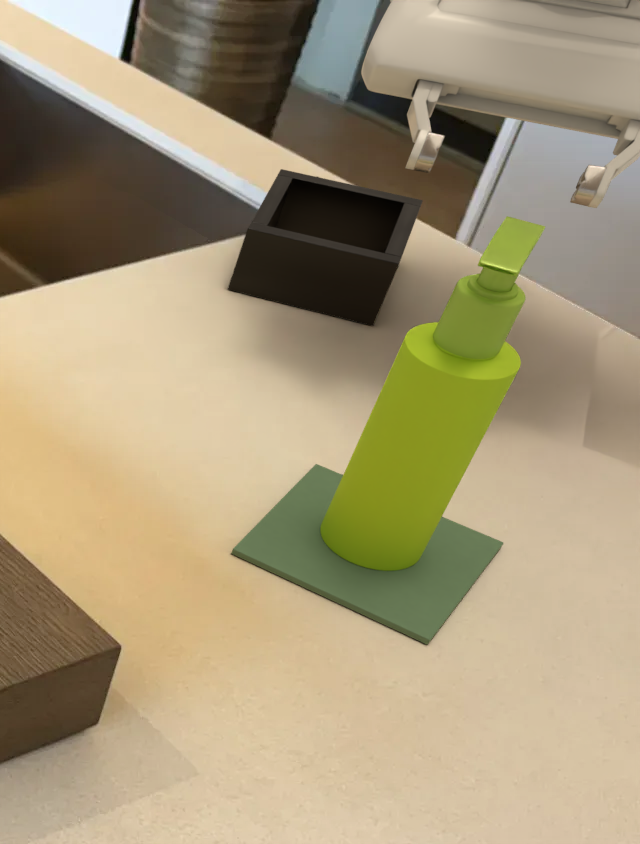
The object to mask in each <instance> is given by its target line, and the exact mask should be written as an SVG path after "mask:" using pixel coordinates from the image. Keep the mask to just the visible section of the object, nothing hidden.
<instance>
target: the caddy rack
mask: <svg viewBox="0 0 640 844" xmlns="http://www.w3.org/2000/svg"><path fill="white" fill-rule="evenodd" d="M423 201H424V200H423V199H419V198H414V197H409V196H406V195H400V194H396V193H392V192H388V191H384V190H383V191H382V190H378V189H373V188H370V187H369V188H368V187H364V186H360V185H355V184H351V183H346V182H342V181H337V180H332V179H328V178H325V177H319V176H314V175H310V174H306V173H302V172H301V173H300V172H296V171H291V170H287V169H283V168H281V169H280V170H279V171H278V173H277V175H276V177H275V179H274V180H273V183H272V184H271V186H270V188H269V190H268V192H267V193H266V194H265V197H264V199H263V201H262V202H261V204H260V206H259V208H258V209H257V211H256V213H255V214H254V217H253V219H252V220H251V222H250V223H249V225H248V227H247V230H246V232H245V234H244V238H243V241H242V244H241V247H240V250H239V254H238V256H237V259H236V262H235V266H234V269H233V272H232V274H231V277H230V280H229V282H228V283H229V284H228V287H227V290H228V291H232V292H235V293H239V294H240V293H241V294H244V295H247V296H252V297H256V298H259V299H263V300H268V301H272V302H276V303H279V304H283V305H287V306H291V307H295V308H300V309H303V310H307V311H310V312H311V311H312V312H315V313H319V314H323V315H328V316H330V317H331V316H332V317H335V318H339V319H343V320H347V321H351V322H355V323H359V324H363V325H366V326H371V327H373V326H374V325H375V323H376V320H377V317H378V316H379V313H380V311H381V308H382V305H383V303H384V301H385V299H386V296H387V294H388V291H389V290H390V287H391V284H392V283H393V280H394V277H395V275H396V273H397V271H398V268H399V266H400V263H401V260H402V258H403V255H404V252H405V250H406V247H407V245H408V241H409V239H410V236H411V234H412V231H413V228H414V225H415V224H416V220H417V217H418V215H419V212H420V210H421V207H422V204H423Z"/></svg>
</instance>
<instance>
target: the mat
mask: <svg viewBox="0 0 640 844" xmlns="http://www.w3.org/2000/svg"><path fill="white" fill-rule="evenodd" d="M343 475H344V474H342V473H339V472H338V471H337V472H336V471H334V470H332V469H329V468H327V467H325V466H323V465H320V464H318V463H315V464H314V465H313V466H312V468H310V469H309V470H308V471H307V472H306V473H305V474H304V475H303V476H302V477H301V479H299V481H298V482H296V483H295V485H294V486H293V487H292V488H290V490H289V491H288V492H287V493H286V494H285V495H284V496H283V497H282V498H281V499H280V500H279V501H278V502H277V503H276V504H275V505H274V506H273V507H272V508H271V509H270V510H269V511H268V512H267V513H266V514H265V515H264V516H263V517H262V518H261V519H260V520H259V522H257V523H256V524H255V525H254V527H253V528H252V529H251V530H250V531H248V533H247V534H246V535H245V536H244V537H243V538H241V540H239V542H238V543H237V544H235V546H234V547H233V548H232V549H231V555H233V556H235V557H238V558H239V559H242V560H244V561H245V562H248V563H251V564H252V565H254V566H257V567H259V568H261V569H263V570H265V571H267V572H270V573H272V574H274V575H276V576H278V577H281V578H283V579H284V580H287V581H289V582H291V583H293V584H296V585H298V586H299V587H302V588H304V589H306V590H309V592H310V591H311V592H313V593H315V594H317V595H319V596H321V597H324V598H325V599H328V600H329V601H332V602H334V603H336V604H338V605H340V606H342V607H345V608H347V609H349V610H352V611H353V612H356V613H358V614H360V615H362V616H364V617H366V618H369V619H370V620H373V621H375V622H377V623H379V624H382V625H384V626H386V627H388V628H390V629H392V630H394V631H396V632H398V633H400V634H404V635H405V636H407V637H409V638H412V639H414V640H416V641H418V642H420V643H422V644H424V645H429V644H430V642H432V640H433V638H434V637H435V636H436V634H437V633H438V632H439V630H440V629H441V628H442V627H443V625H444V624H445V623H446V621H448V619H449V617H450V616H452V613H453V612H454V611H455V609H456V608H457V606H458V605H459V604H460V603H461V602H462V600H463V599H464V597H465V596H466V595H467V593H468V592H469V590H471V588H472V587H473V586H474V584H476V582H477V580H478V579H479V578H480V576H481V575H482V573H483V572H484V571H485V570H486V568H487V567H488V566H489V564H490V563H491V562H492V560H493V559H494V558H495V556H496V555H497V553H498V552H499V551H500V550H501V548H502V547H503V545H504V541H501V540H499V539H498V538H497V539H496V538H494V537H492V536H489V535H488V534H485V533H482V532H480V531H478V530H475V529H473V528H470V527H468V526H465V525H463V524H462V523H461V524H460V523H458V522H456V521H453V520H451V519H449V518H446V517H444V516H442V517H441V519H440V521H439V523H438V525H437V527H436V529H435V531H434V532H433V534H432V536H431V538H430V540H429V542H428V544H427V546H426V548H425V550H424V551H423V553H422V555H421V557H420V559H419V560H418V561H417V562H416V563H415V564H414V565H412V566H410V567H408V568H405V569H401V570H394V571H383V570H375V569H370V568H365V567H362V566H359V565H356V564H354V563H351V562H349V561H347V560H345V559H343V558H342V557H340V556H339V555H337V554H336V553H335V552H333V551H332V550H331V549H330V548H329V547H328V546H327V545H326V543H325V542H324V540H323V538H322V536H321V532H320V528H321V524H322V522H323V519H324V517H325V515H326V513H327V510H328V508H329V506H330V504H331V501H332V499H333V497H334V495H335V492H336V490H337V488H338V486H339V484H340V481H341V479H342V477H343Z"/></svg>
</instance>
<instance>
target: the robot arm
mask: <svg viewBox="0 0 640 844" xmlns="http://www.w3.org/2000/svg"><path fill="white" fill-rule="evenodd" d="M389 2H390V3H389V5H388V6H387V9H386V10H385V12H384V14H383V16H382V18H381V20H380V22H379V24H378V26H377V27H376V30H375V32H374V34H373V36H372V39H371V40H370V43H369V45H368V48H367V50H366V54H365V57H364V60H363V62H362V66H361V71H360V74H361V77H362V80H363V82H364V85H365V87H366V89H367V90H368V91H370V92H373V93H376V94H381V95H382V94H383V95H387V96H388V95H389V96H394V97H399V98H403V99H408V100H411V101H410V105H409V108H408V111H407V113H406V119H407V122H408V127H409V132H410V135H411V140H412V144H413V143H414V145H413V147H412V149H411V152H410V155H409V156H408V160H407V162H406V164H405V169H406V170H412V171H416V172H421V173H426V174H430V173H431V170H432V169H433V166H434V164H435V162H436V159H437V157H438V154H439V151H440V149H441V148H442V147H441V146H442V144H443V142H444V140H445V137H446V135H444V134H439V133H435V132H432V127H431V121H430V118H431V117H432V115H433V114H434V113H433V112H434V110H435V109H436V105H438V106H439V105H440V106H445V107H450V108H455V109H460V110H466V111H472V112H476V113H481V114H487V115H491V116H496V117H502V118H507V119H512V120H517V121H522V122H527V123H533V124H538V125H543V126H548V127H553V128H559V129H564V130H569V131H575V132H579V133H584V134H589V135H595V136H599V137H600V136H601V137H604V138H610V139H615V140H617V141H616V143H615V146H614V148H613V151H612V154H613V155H614V156H615V157H614V158H612V159H611V160H610V161H609V162H607V164H605V165H604V166H601V165H600V166H599V165H595V164H588V165H587V166H586V167H585V170H584V171H583V172H582V174H580V176H579V179H578V181H577V183H576V186H575V191H574V192H573V194H572V195H571V198H570V201H569V203H571V204H575V205H580V206H583V207H588V208H591V209H592V208H593V209H597V208H598V207H599V206H600V204H601V203H602V201H603V200H604V199H605V197H606V194H607V192H608V190H609V187H610V186H611V183H612V181H613V180H614V179H615V178H616V177H618V176H619V175H620V174H622V172H624V171H625V170H626V169H628V168H629V167H630V166H631V165H632V164H634V163H635V162H636V161H638V159H639V158H640V0H389Z"/></svg>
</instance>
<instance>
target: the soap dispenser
mask: <svg viewBox="0 0 640 844" xmlns="http://www.w3.org/2000/svg"><path fill="white" fill-rule="evenodd" d="M545 229H546V226H545V225H541V224H538V223H534V222H530V221H527V220H523V219H519V218H516V217H512V216H506V217H505V218H504V220H503V221H502V222H501V224H500V225H499V227H498V228H497V230H496V231H495V233H494V235H492V237H491V239H490V241H489V243H488V244H487V246H486V248H485V249H484V251H483V253H482V255H481V257H480V258H479V260H478V263H477V266H478V267H481V271H480V272H479V273H475V274H469V275H465V276H462V277H461V278H459V279H458V281H457V282H456V284H455V286H454V288H453V289H452V292H451V294H450V297H449V299H448V301H447V303H446V305H445V308H444V309H443V312H442V314H441V316H440V318H439V320H438V321H434V322H433V321H432V322H426V323H421V324H418V325H415V326H414V327H412V328H411V329H409V330H408V331H407V332H406V334H405V336H404V338H403V340H402V343H401V345H400V346H399V349H398V351H397V354H396V356H395V358H394V360H393V362H392V365H391V367H390V370H389V371H388V374H387V376H386V378H385V381H384V383H383V385H382V387H381V389H380V392H379V393H378V396H377V399H376V401H375V403H374V405H373V408H372V410H371V412H370V414H369V417H368V419H367V421H366V422H365V425H364V427H363V430H362V432H361V434H360V436H359V439H358V440H357V443H356V446H355V448H354V450H353V452H352V455H351V456H350V459H349V461H348V463H347V466H346V468H345V470H344V473H343V474H342V475H343V477H342V479H341V481H340V484H339V486H338V488H337V490H336V492H335V495H334V497H333V499H332V501H331V504H330V506H329V508H328V510H327V513H326V515H325V517H324V519H323V522H322V524H321V528H320V532H321V536H322V538H323V540H324V542H325V543H326V545H327V546H328V547H329V548H330V549H331V550H332V551H333V552H335V553H336V554H337V555H339V556H340V557H342V558H343V559H345V560H347V561H349V562H351V563H354V564H356V565H359V566H362V567H365V568H370V569H375V570H383V571H394V570H401V569H405V568H408V567H410V566H412V565H414V564H415V563H416V562H417V561H418V560H419V559H420V557H421V555H422V553H423V551H424V550H425V548H426V546H427V544H428V542H429V540H430V538H431V536H432V534H433V532H434V531H435V529H436V527H437V525H438V523H439V521H440V519H441V517H443V515H444V513H445V511H446V509H447V507H448V506H449V504H450V502H451V500H452V499H453V496H454V494H455V493H456V491H457V489H458V486H459V485H460V482H461V481H462V479H463V477H464V475H465V474H466V471H467V470H468V468H469V465H470V463H471V462H472V460H473V458H474V456H475V454H476V453H477V450H478V449H479V447H480V444H481V443H482V440H483V439H484V437H485V435H486V433H487V431H488V429H489V427H490V426H491V424H492V422H493V420H494V418H495V416H496V414H497V412H498V410H499V409H500V406H501V405H502V402H503V401H504V399H505V397H506V395H507V393H508V392H509V389H510V387H511V385H512V384H513V382H514V380H515V378H516V377H517V374H518V372H519V371H520V369H521V364H522V360H521V356H520V355H519V353H518V352H517V350H516V349H515V348H514V347H513V346H512V345H511V344H509V342H507V341H506V339H507V338H508V336H509V334H510V332H511V330H512V328H513V326H514V325H515V322H516V320H517V318H518V316H519V314H520V312H521V310H522V308H523V306H524V304H525V302H526V298H527V297H526V293H525V291H524V290H523V289H522V288H521V287H520V286H519V285H518V284H517V283H516V281H517V279H518V277H519V275H520V273H521V271H522V269H523V267H524V265H525V263H526V262H527V260H528V259H529V257H530V255H531V254H532V252H533V250H534V248H535V247H536V245H537V243H538V242H539V240H540V239H541V237H542V235H543V233H544V231H545Z"/></svg>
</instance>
